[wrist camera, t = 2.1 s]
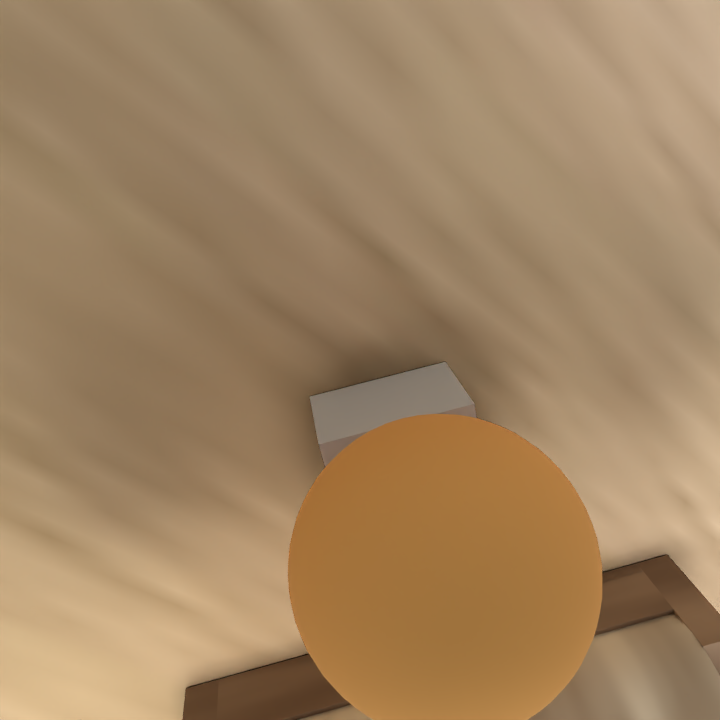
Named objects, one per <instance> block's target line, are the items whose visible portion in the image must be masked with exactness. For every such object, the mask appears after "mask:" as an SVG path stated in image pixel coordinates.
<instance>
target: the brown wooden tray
mask: <svg viewBox="0 0 720 720" xmlns="http://www.w3.org/2000/svg"><path fill="white" fill-rule="evenodd" d="M639 570H640V571H639ZM641 571H642V572H641ZM614 578H615V579H614ZM183 720H373V719H371V718H370V717H368V716H366V715H365V714H364V713H362V712H361V711H359V710H358V709H356V708H355V707H354V706H353V705H351V704H350V703H349V702H348V701H346V700H345V699H344V698H343V697H342V696H341V695H340V694H339V693H338V692H337V691H336V690H335V688H334V687H333V686H332V685H331V684H330V683H329V682H328V681H327V680H326V678H325V677H324V676H323V675H322V673H321V672H320V670H319V669H318V667H317V666H316V664H315V662H314V661H313V659H312V658H311V656H310V654H308V655H305V656H301V657H298V658H294V659H290V660H287V661H283V662H280V663H276V664H272V665H269V666H265V667H262V668H258V669H254V670H251V671H247V672H244V673H240V674H236V675H233V676H229V677H226V678H222V679H218V680H215V681H211V682H208V683H204V684H200V685H197V686H193V687H190V688H186V692H185V702H184V711H183ZM528 720H720V614H719V613H718V612H717V611H716V610H715V608H714V607H713V606H712V605H711V604H710V603H709V602H708V600H707V599H706V598H705V597H704V596H703V595H702V594H701V592H700V591H699V590H698V589H697V588H696V587H695V586H694V584H693V583H692V582H691V581H690V580H689V579H688V578H687V576H686V575H685V574H684V573H683V572H682V571H681V570H680V568H679V567H678V566H677V565H676V564H675V563H674V562H673V560H672V559H671V558H670V557H669V556H668V555H665V556H661V557H658V558H654V559H651V560H647V561H643V562H640V563H636V564H633V565H629V566H625V567H622V568H618V569H615V570H611V571H607V572H604V573H602V603H601V609H600V615H599V620H598V624H597V628H596V631H595V635H594V638H593V641H592V643H591V645H590V647H589V649H588V652H587V654H586V656H585V658H584V660H583V662H582V664H581V666H580V667H579V669H578V671H577V672H576V674H575V676H574V677H573V678H572V679H571V681H570V682H569V683H568V684H567V686H566V687H565V688H564V689H563V690H562V691H561V692H560V693H559V694H558V695H557V697H556V698H555V699H554V700H553V701H552V702H551V703H549V704H548V705H547V706H546V707H545V708H543V709H542V710H541V711H540V712H538V713H537V714H535V715H534V716H532V717H531V718H529V719H528Z"/></svg>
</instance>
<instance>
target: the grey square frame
mask: <svg viewBox="0 0 720 720" xmlns="http://www.w3.org/2000/svg"><path fill="white" fill-rule="evenodd" d="M310 402H311V407H312V412H313V418H314V423H315V428H316V434H317V439H318V444H319V448H320V452H321V455H322V459H323V463H324V466H325V467H326V466H327V465H328V464H329V463H330V462H331V461H332V460H333V459H334V458H335V457H336V456H337V455H338V454H339V453H340V452H341V451H342V450H343V449H344V448H345V447H347V446H348V445H349V444H351V443H352V442H353V441H354V440H356V439H357V438H359V437H361V436H362V435H364V434H366V433H367V432H369V431H371V430H373V429H375V428H377V427H379V426H382V425H384V424H386V423H389V422H392V421H395V420H398V419H402V418H406V417H411V416H416V415H426V414H455V415H463V416H469V417H474V418H477V416H476V410H475V404H474V402H473V401H472V399H471V398H470V396H469V395H468V394H467V392H466V391H465V389H464V388H463V386H462V385H461V383H460V382H459V380H458V379H457V378H456V376H455V375H454V373H453V372H452V370H451V369H450V367H449V366H448V365H447V363H446V362H442V363H438V364H435V365H431V366H427V367H423V368H419V369H415V370H411V371H407V372H403V373H400V374H396V375H392V376H388V377H384V378H380V379H376V380H372V381H368V382H365V383H361V384H357V385H353V386H349V387H345V388H341V389H337V390H333V391H330V392H326V393H322V394H318V395H314V396H310Z"/></svg>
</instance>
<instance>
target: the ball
mask: <svg viewBox="0 0 720 720" xmlns="http://www.w3.org/2000/svg"><path fill="white" fill-rule="evenodd" d="M288 582H289V594H290V599H291V605H292V610H293V614H294V618H295V622H296V625H297V627H298V630H299V632H300V635H301V637H302V640H303V642H304V644H305V647H306V649H307V651H308V653H309V654H310V656H311V658H312V659H313V661H314V662H315V664H316V666H317V667H318V669H319V670H320V672H321V673H322V675H323V676H324V677H325V678H326V680H327V681H328V682H329V683H330V684H331V685H332V686H333V687H334V688H335V690H336V691H337V692H338V693H339V694H340V695H341V696H342V697H343V698H344V699H345V700H346V701H348V702H349V703H350V704H351V705H353V706H354V707H355V708H356V709H358V710H359V711H361V712H362V713H364V714H365V715H366V716H368V717H370V718H371V719H373V720H528V719H529V718H531V717H532V716H534V715H535V714H537V713H538V712H540V711H541V710H542V709H543V708H545V707H546V706H547V705H548V704H549V703H551V702H552V701H553V700H554V699H555V698H556V697H557V695H558V694H559V693H560V692H561V691H562V690H563V689H564V688H565V687H566V686H567V684H568V683H569V682H570V681H571V679H572V678H573V677H574V676H575V674H576V672H577V671H578V669H579V667H580V666H581V664H582V662H583V660H584V658H585V656H586V654H587V652H588V649H589V647H590V645H591V643H592V641H593V638H594V635H595V631H596V628H597V624H598V620H599V615H600V609H601V603H602V563H601V557H600V551H599V546H598V541H597V537H596V534H595V531H594V528H593V525H592V522H591V520H590V517H589V515H588V512H587V510H586V508H585V506H584V504H583V502H582V500H581V499H580V497H579V495H578V493H577V492H576V490H575V489H574V487H573V486H572V484H571V483H570V481H569V480H568V479H567V477H566V476H565V475H564V474H563V472H562V471H561V470H560V469H559V468H558V467H557V466H556V465H555V464H554V463H553V462H552V461H551V460H550V459H549V458H548V457H547V456H546V455H545V454H544V453H543V452H542V451H541V450H539V449H538V448H537V447H535V446H534V445H532V444H531V443H529V442H528V441H526V440H525V439H523V438H522V437H520V436H519V435H517V434H516V433H514V432H512V431H510V430H508V429H505V428H503V427H501V426H499V425H496V424H493V423H491V422H487V421H484V420H481V419H478V418H474V417H469V416H463V415H455V414H426V415H416V416H411V417H406V418H402V419H398V420H395V421H392V422H389V423H386V424H384V425H382V426H379V427H377V428H375V429H373V430H371V431H369V432H367V433H366V434H364V435H362V436H361V437H359V438H357V439H356V440H354V441H353V442H352V443H351V444H349V445H348V446H347V447H345V448H344V449H343V450H342V451H341V452H340V453H339V454H338V455H337V456H336V457H335V458H334V459H333V460H332V461H331V462H330V463H329V464H328V465H327V466H326V467H325V468H324V469H323V471H322V472H321V473H320V475H319V476H318V477H317V478H316V480H315V482H314V483H313V485H312V487H311V488H310V490H309V492H308V494H307V496H306V497H305V499H304V501H303V504H302V506H301V508H300V511H299V513H298V516H297V518H296V522H295V526H294V530H293V534H292V538H291V543H290V549H289V560H288Z"/></svg>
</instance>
